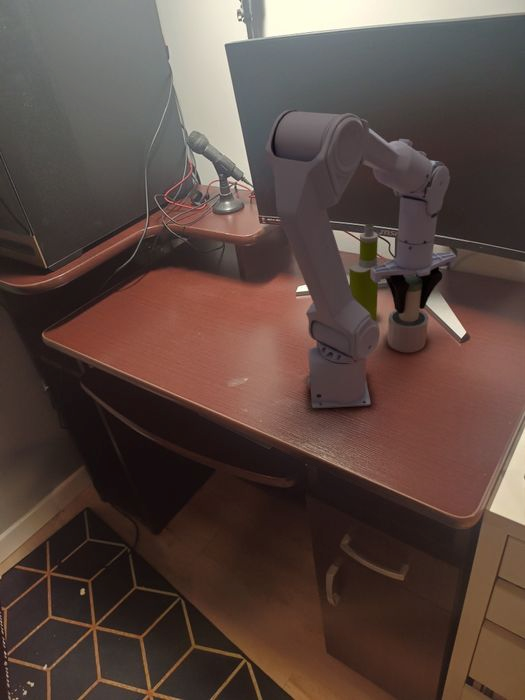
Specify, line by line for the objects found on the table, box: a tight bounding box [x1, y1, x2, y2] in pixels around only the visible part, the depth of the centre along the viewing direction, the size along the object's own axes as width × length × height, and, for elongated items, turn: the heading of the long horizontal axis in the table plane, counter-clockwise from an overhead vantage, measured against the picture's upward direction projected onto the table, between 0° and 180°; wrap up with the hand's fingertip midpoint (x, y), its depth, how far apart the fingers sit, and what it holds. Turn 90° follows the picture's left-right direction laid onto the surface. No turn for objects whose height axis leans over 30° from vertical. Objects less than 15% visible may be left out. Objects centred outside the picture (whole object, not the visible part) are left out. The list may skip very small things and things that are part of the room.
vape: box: [349, 223, 380, 322], centre depth 88 cm, size 4×6×20 cm, turn 129°
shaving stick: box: [399, 275, 423, 322], centre depth 82 cm, size 4×4×8 cm
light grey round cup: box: [387, 309, 429, 353], centre depth 86 cm, size 7×7×6 cm
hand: (409, 308), depth 83 cm, fingers closed on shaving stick, 3 cm apart
